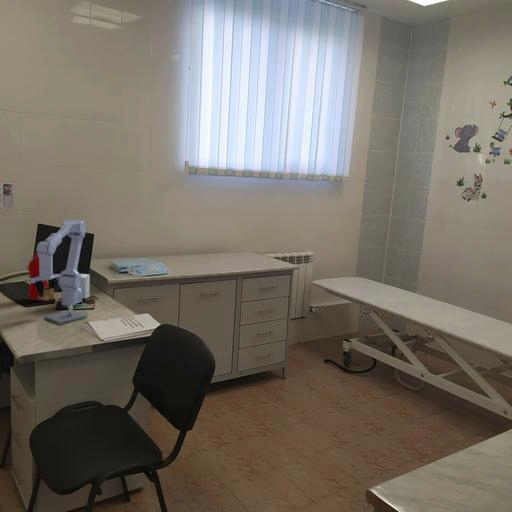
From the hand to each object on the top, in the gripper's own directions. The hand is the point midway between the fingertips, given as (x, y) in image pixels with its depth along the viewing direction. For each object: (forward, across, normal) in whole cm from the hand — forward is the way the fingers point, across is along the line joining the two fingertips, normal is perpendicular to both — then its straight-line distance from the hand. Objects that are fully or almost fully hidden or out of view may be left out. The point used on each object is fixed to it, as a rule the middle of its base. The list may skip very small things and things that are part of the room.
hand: (46, 295), depth 234 cm
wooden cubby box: (+2, 0, 0) cm, 2 cm away
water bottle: (+11, -13, -28) cm, 32 cm away
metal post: (+10, -6, +10) cm, 15 cm away
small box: (+11, -30, -14) cm, 35 cm away
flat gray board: (+10, -4, +8) cm, 14 cm away
